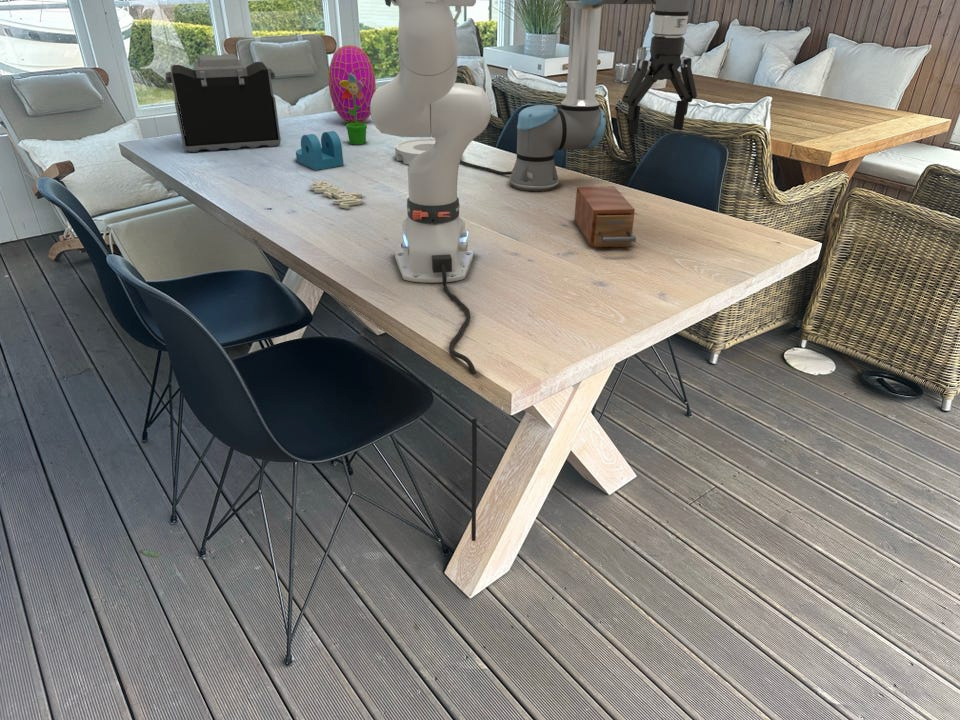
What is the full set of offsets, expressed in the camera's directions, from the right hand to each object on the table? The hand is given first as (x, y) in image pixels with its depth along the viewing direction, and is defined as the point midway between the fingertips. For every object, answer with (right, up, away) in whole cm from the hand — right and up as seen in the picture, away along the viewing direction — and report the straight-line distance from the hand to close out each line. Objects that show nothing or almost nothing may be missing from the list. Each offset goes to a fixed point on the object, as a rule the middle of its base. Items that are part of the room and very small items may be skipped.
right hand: (655, 131), depth 168 cm
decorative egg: (-96, +45, +125) cm, 164 cm away
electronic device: (-137, +26, +91) cm, 166 cm away
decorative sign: (-85, -7, +37) cm, 93 cm away
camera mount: (-99, +12, +69) cm, 121 cm away
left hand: (-54, +25, -2) cm, 59 cm away
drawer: (-11, -25, +6) cm, 28 cm away
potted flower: (-89, +27, +94) cm, 132 cm away
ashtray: (-61, +16, +76) cm, 99 cm away
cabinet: (-11, -23, +11) cm, 28 cm away
